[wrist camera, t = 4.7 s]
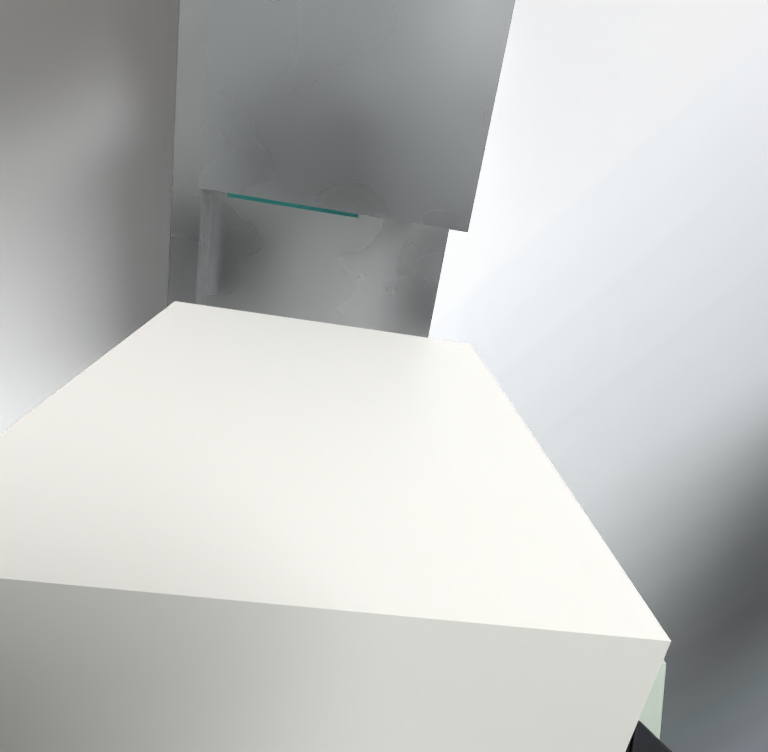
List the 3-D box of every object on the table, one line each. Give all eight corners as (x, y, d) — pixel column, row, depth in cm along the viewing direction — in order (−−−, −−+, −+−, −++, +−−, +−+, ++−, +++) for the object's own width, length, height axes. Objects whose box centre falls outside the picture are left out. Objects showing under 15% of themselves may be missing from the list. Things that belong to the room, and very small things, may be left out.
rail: (486, -10, 15) (600, -155, 8) (364, 632, 22) (371, 841, 15) (210, -68, 14) (83, -279, 7) (174, 615, 21) (91, 828, 14)
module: (471, 343, 9) (671, 643, 3) (394, 691, 11) (436, 1208, 6) (175, 301, 9) (-169, 563, 3) (158, 672, 11) (-51, 1215, 5)
